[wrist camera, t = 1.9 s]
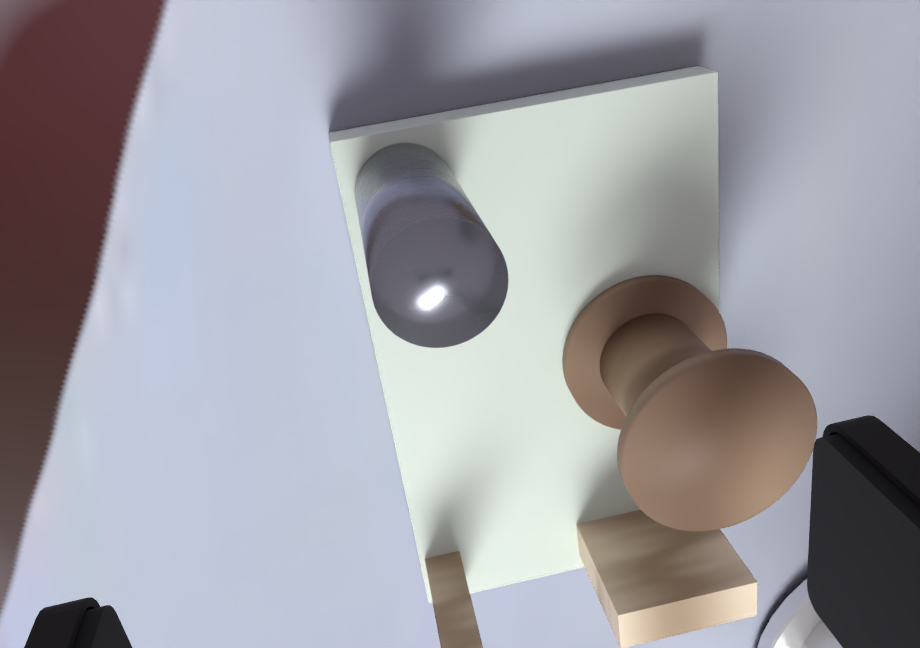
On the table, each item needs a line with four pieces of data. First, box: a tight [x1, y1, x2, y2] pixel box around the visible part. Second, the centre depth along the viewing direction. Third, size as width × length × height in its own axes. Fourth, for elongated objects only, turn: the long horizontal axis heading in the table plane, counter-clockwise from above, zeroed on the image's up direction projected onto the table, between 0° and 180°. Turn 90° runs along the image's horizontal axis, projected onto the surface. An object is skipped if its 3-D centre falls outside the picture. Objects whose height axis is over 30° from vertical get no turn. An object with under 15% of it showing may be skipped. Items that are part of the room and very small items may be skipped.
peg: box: [355, 143, 509, 348], centre depth 22 cm, size 3×3×8 cm
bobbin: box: [562, 275, 817, 531], centre depth 27 cm, size 6×6×6 cm
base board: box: [329, 66, 721, 603], centre depth 30 cm, size 12×19×2 cm, turn 9°
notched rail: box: [425, 510, 757, 648], centre depth 31 cm, size 11×2×5 cm, turn 99°
